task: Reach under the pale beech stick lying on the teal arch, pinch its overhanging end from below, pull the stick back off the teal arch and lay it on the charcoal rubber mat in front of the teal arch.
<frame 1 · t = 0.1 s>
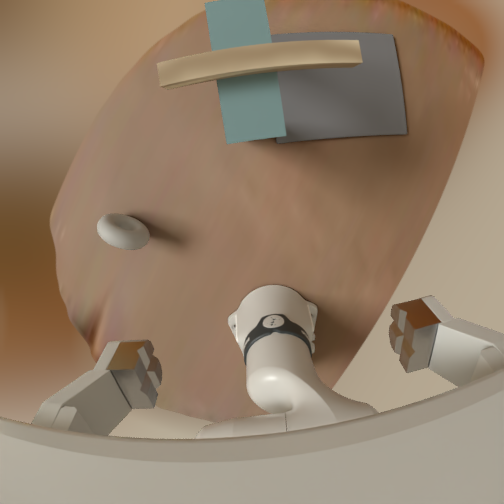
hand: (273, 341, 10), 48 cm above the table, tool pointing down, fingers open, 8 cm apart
teal arch: (245, 91, 50), on the table
stick: (260, 62, 27), point 24 cm above the table, touching teal arch
mat: (338, 83, 49), on the table
donut: (132, 222, 58), on the table
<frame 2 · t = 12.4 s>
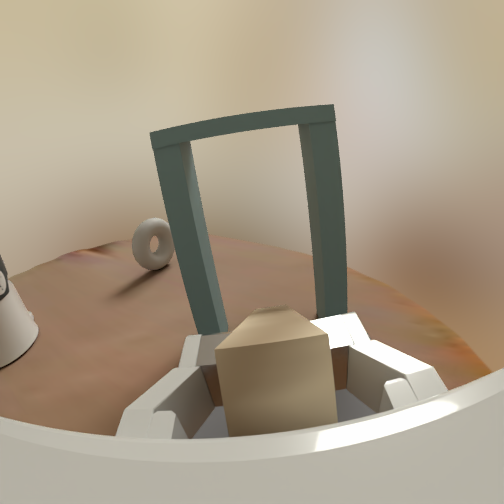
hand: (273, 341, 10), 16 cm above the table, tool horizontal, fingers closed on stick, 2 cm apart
teal arch: (274, 332, 37), on the table
stick: (278, 371, 15), point 11 cm above the table, tilted 30°, touching gripper
mat: (289, 451, 21), on the table
donut: (161, 268, 61), on the table
when the fingers open (12 cm above the table, at t = 13.7 s): stick drops 6 cm, resting on mat.
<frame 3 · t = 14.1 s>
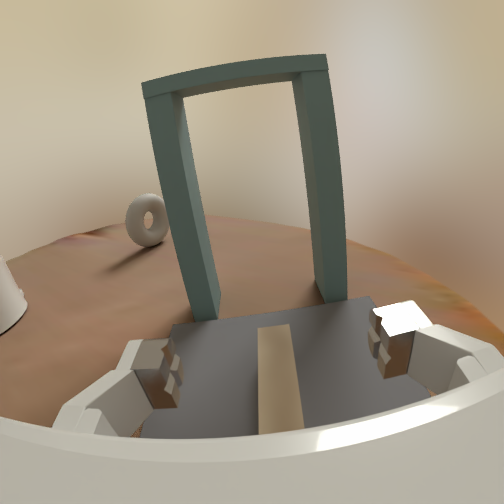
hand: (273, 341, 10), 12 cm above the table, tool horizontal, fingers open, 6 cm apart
teal arch: (269, 298, 35), on the table
stick: (285, 453, 16), point 1 cm above the table, touching mat
mat: (285, 418, 20), on the table
donut: (155, 246, 59), on the table
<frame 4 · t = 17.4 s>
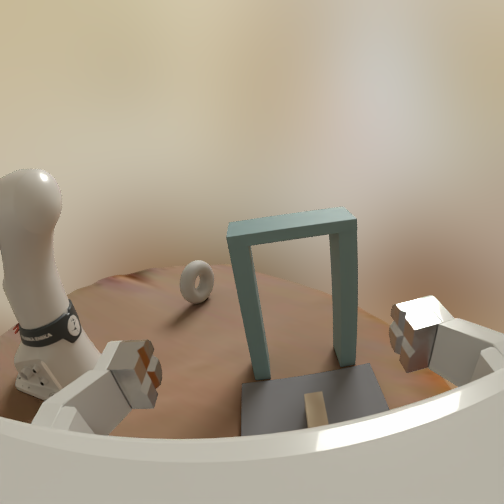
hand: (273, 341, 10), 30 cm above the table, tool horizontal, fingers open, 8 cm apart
teal arch: (303, 361, 50), on the table
stick: (322, 462, 31), point 1 cm above the table, touching mat
mat: (320, 443, 34), on the table
donut: (202, 301, 74), on the table
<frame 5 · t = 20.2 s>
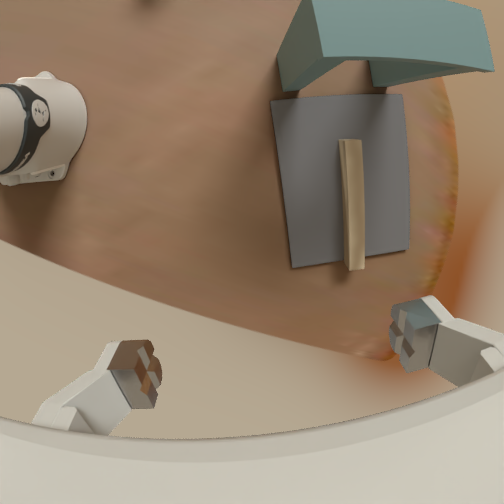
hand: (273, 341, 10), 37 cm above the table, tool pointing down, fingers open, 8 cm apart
teal arch: (334, 69, 39), on the table
stick: (350, 203, 45), point 1 cm above the table, touching mat
mat: (348, 178, 45), on the table
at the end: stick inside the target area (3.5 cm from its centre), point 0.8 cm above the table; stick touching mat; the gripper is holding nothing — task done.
